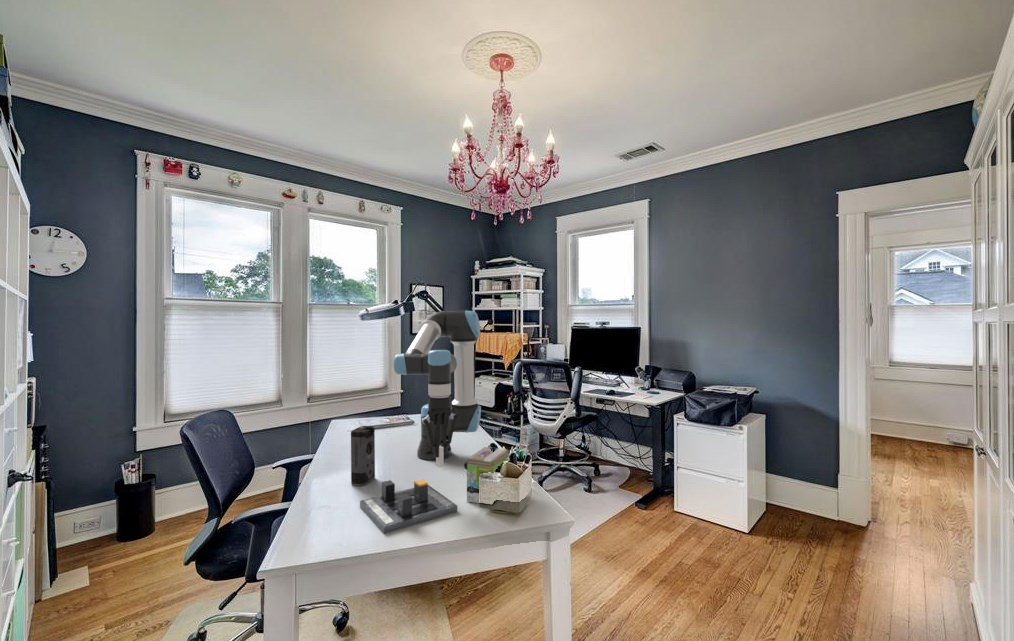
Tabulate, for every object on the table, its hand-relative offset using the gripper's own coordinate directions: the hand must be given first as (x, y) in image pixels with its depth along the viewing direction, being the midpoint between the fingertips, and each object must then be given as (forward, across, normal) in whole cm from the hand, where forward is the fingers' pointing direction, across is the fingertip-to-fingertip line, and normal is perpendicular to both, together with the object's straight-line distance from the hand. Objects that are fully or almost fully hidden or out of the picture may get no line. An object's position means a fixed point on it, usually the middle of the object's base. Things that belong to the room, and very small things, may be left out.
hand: (439, 465), depth 149 cm
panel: (+12, +11, 0) cm, 16 cm away
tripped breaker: (+10, +7, 0) cm, 12 cm away
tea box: (+12, -16, +6) cm, 21 cm away
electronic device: (+12, +15, -33) cm, 39 cm away
